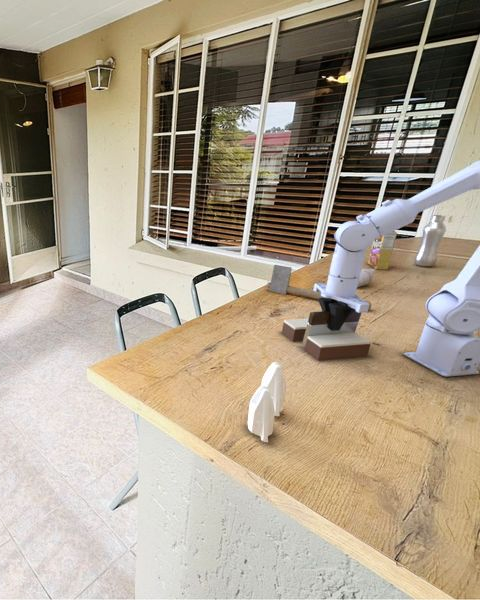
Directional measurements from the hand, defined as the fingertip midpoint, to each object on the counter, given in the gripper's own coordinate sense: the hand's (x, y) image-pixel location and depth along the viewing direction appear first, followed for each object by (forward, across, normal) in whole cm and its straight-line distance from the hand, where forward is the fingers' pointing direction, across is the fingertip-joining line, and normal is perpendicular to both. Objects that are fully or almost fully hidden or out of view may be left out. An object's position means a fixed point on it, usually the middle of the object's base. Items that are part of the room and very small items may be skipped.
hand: (331, 328), depth 85 cm
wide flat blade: (+4, 0, 0) cm, 4 cm away
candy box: (+6, -58, +65) cm, 88 cm away
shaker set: (+6, +23, -29) cm, 37 cm away
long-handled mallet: (+6, -30, +18) cm, 36 cm away
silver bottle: (+6, -56, +82) cm, 99 cm away
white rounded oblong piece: (+6, -40, +43) cm, 59 cm away
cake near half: (+5, +3, 0) cm, 6 cm away
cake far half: (+6, -7, 0) cm, 9 cm away
